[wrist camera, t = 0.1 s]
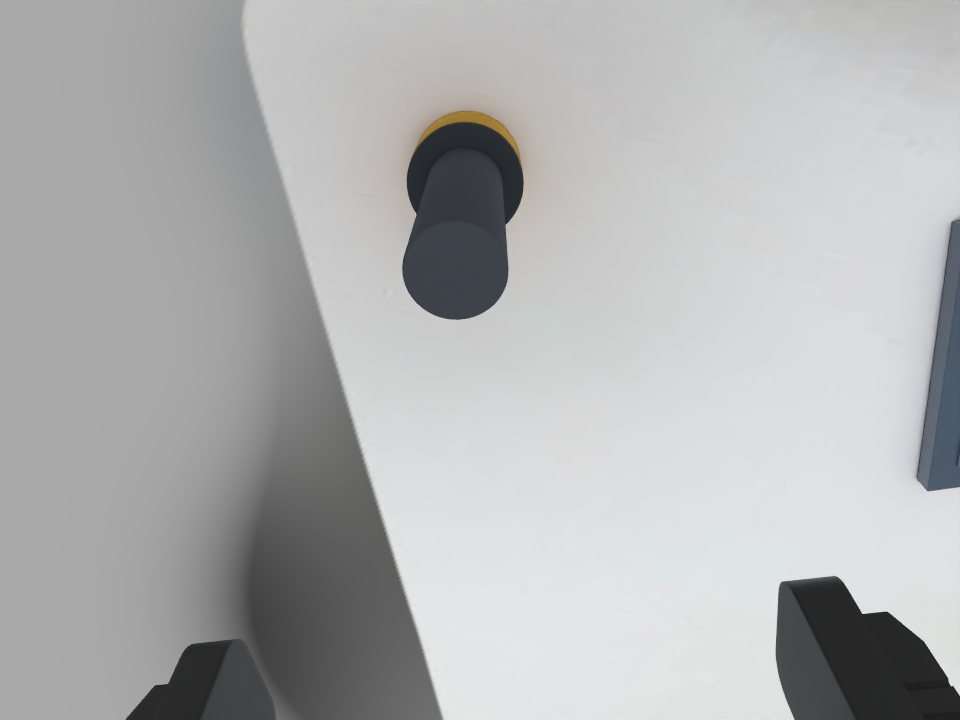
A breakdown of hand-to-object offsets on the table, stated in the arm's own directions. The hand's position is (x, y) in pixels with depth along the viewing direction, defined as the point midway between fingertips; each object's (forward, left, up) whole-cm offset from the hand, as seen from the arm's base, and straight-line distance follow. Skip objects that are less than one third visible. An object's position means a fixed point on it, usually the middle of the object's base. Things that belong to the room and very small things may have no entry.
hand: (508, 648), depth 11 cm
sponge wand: (-2, -2, -22) cm, 22 cm away
